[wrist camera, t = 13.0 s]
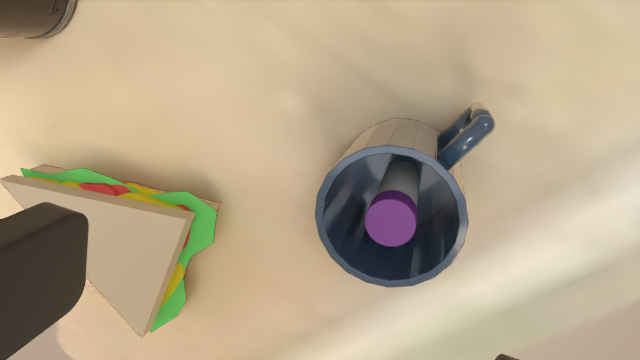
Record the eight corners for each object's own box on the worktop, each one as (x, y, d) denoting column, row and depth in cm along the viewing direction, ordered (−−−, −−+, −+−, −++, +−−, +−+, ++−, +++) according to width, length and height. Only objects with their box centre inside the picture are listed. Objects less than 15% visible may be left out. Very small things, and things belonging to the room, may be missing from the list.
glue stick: (378, 190, 37) (359, 238, 28) (387, 154, 36) (371, 193, 27) (416, 200, 36) (408, 253, 28) (426, 164, 35) (422, 207, 27)
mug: (401, 249, 39) (389, 313, 30) (322, 173, 38) (286, 215, 30) (525, 143, 34) (555, 181, 25) (436, 56, 34) (435, 64, 25)
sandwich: (88, 75, 41) (43, 80, 36) (257, 224, 41) (234, 248, 36) (20, 195, 47) (-26, 213, 42) (169, 325, 47) (139, 357, 42)
